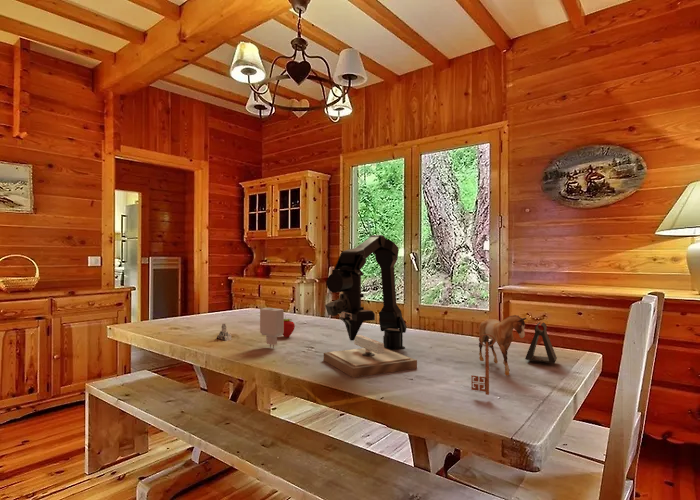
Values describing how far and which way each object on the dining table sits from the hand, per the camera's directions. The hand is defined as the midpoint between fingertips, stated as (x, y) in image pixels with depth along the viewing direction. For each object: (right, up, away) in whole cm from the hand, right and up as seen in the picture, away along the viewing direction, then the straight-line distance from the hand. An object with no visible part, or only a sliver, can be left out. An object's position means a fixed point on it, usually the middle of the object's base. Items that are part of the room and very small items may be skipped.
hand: (351, 340), depth 129 cm
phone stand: (+63, -8, +8) cm, 64 cm away
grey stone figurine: (-50, -10, +40) cm, 65 cm away
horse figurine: (+45, -8, -1) cm, 46 cm away
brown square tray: (+5, -8, +3) cm, 10 cm away
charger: (-30, -9, +24) cm, 39 cm away
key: (+33, -8, -26) cm, 43 cm away
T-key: (+5, -5, +3) cm, 8 cm away
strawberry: (-27, -9, +44) cm, 53 cm away
